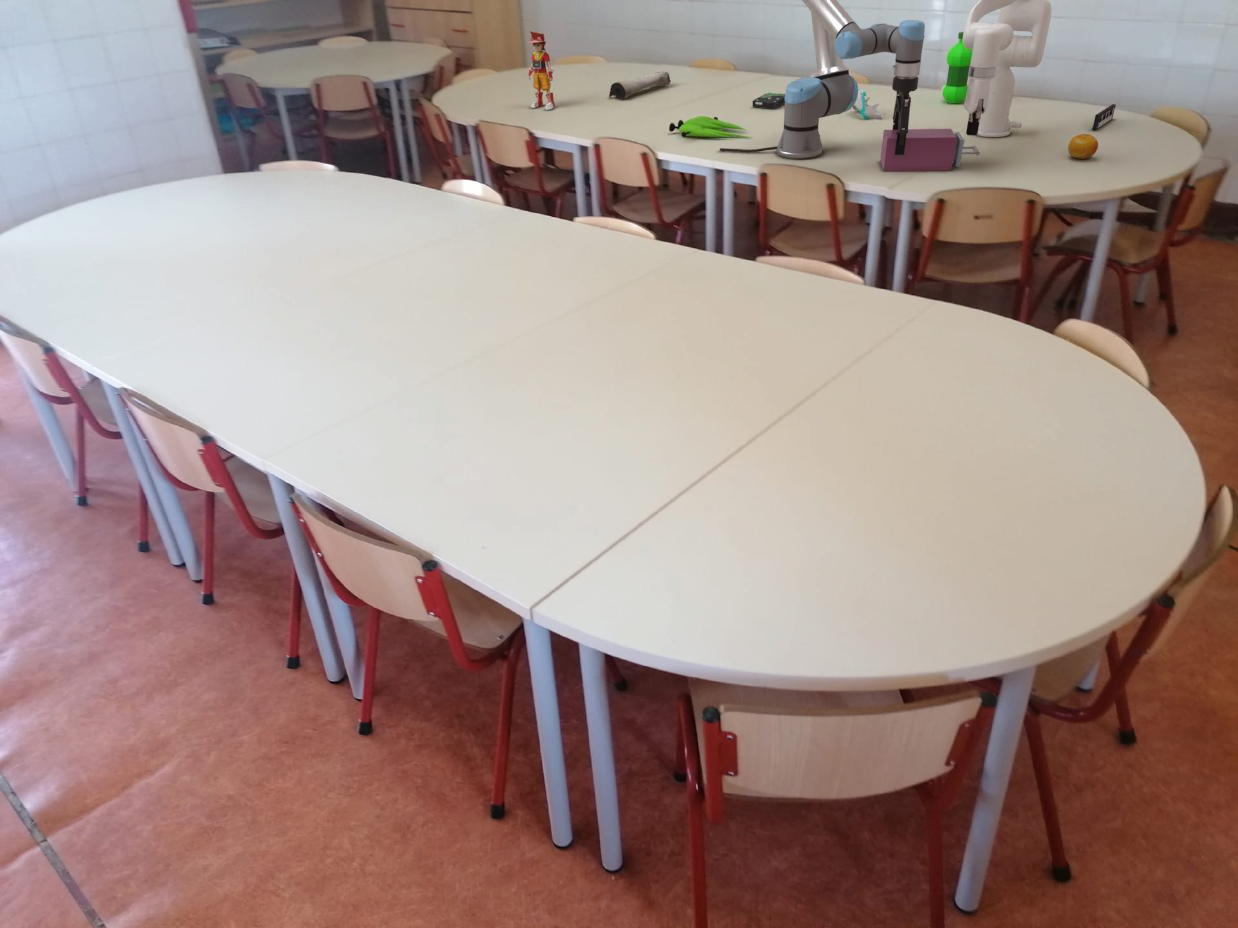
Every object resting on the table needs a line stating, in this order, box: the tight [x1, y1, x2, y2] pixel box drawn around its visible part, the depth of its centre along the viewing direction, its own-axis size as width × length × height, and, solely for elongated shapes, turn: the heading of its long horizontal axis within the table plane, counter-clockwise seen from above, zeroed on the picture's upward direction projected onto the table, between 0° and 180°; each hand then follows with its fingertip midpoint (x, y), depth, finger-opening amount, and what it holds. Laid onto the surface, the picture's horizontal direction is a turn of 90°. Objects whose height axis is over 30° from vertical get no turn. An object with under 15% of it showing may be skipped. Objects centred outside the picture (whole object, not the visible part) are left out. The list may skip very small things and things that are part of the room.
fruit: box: [1067, 133, 1099, 160], centre depth 287 cm, size 8×8×8 cm
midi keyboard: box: [1091, 103, 1117, 131], centre depth 317 cm, size 18×1×5 cm, turn 138°
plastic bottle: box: [942, 31, 973, 104], centre depth 348 cm, size 10×10×25 cm
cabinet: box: [879, 128, 957, 172], centre depth 288 cm, size 21×10×10 cm, turn 83°
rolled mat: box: [608, 71, 672, 101], centre depth 395 cm, size 30×9×10 cm
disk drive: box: [752, 92, 786, 110], centre depth 366 cm, size 10×3×15 cm
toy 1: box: [527, 31, 556, 111], centre depth 374 cm, size 12×9×30 cm
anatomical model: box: [852, 88, 884, 120], centre depth 343 cm, size 15×10×10 cm
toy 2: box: [668, 115, 748, 138], centre depth 334 cm, size 28×5×30 cm
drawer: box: [953, 131, 981, 167], centre depth 288 cm, size 26×9×8 cm, turn 83°
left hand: (897, 149), depth 289 cm, fingers closed on cabinet, 10 cm apart
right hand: (971, 134), depth 283 cm, fingers closed
